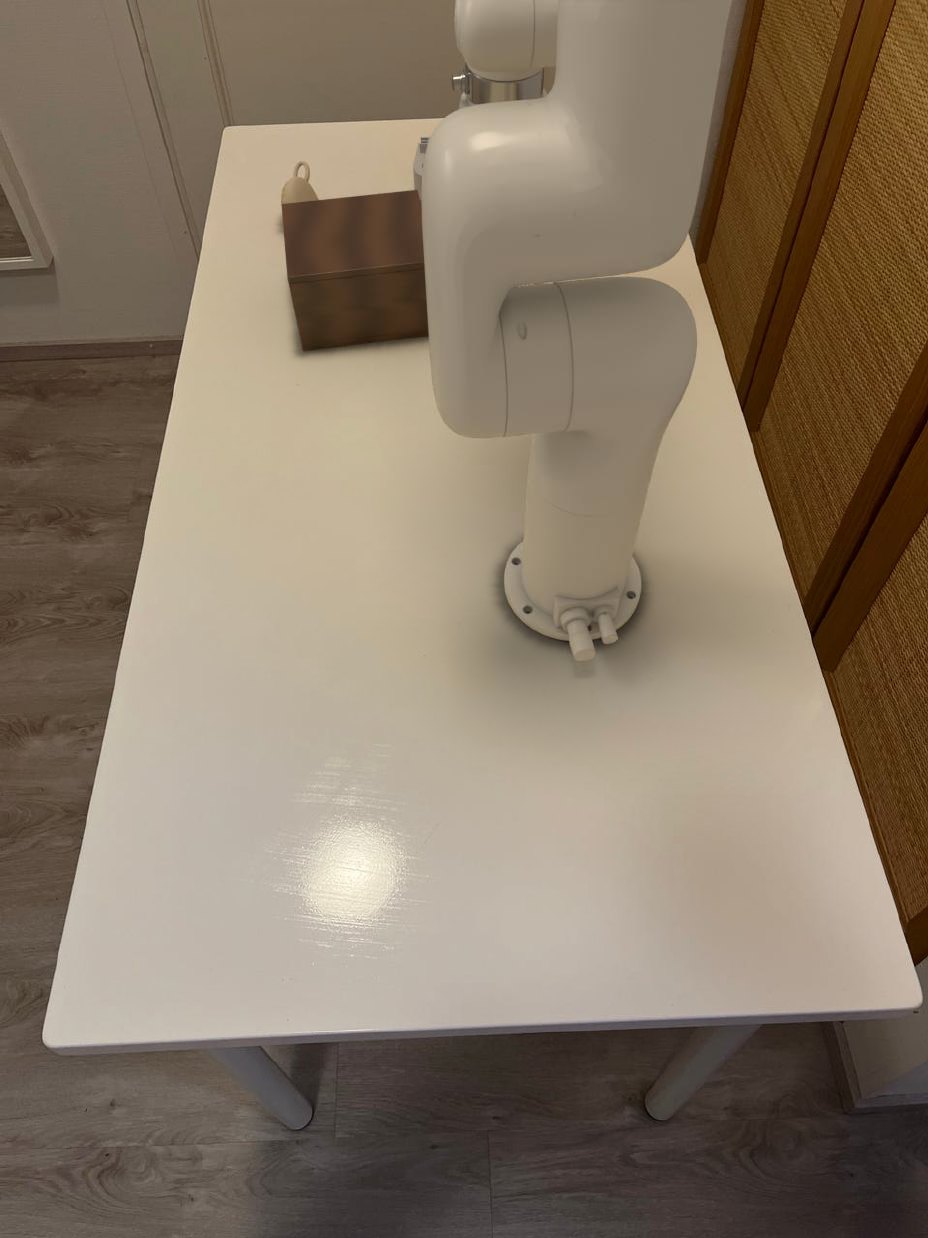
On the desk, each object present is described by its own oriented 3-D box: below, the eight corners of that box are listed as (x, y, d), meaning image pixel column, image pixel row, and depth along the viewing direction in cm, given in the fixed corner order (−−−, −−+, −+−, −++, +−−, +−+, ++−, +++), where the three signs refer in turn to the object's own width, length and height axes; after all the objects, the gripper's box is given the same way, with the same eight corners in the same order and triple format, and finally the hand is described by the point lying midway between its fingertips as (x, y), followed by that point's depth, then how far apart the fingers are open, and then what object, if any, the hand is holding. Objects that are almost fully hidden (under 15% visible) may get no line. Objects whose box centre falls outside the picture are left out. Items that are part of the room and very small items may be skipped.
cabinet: (422, 263, 108) (417, 189, 100) (437, 334, 101) (434, 260, 93) (296, 277, 107) (281, 203, 99) (302, 350, 100) (287, 277, 92)
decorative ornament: (277, 234, 112) (269, 194, 107) (300, 197, 116) (293, 158, 112) (307, 238, 111) (300, 198, 107) (329, 201, 116) (322, 161, 111)
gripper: (434, 109, 83) (441, 278, 98) (588, 94, 84) (571, 263, 99) (424, 71, 87) (432, 238, 102) (571, 57, 88) (557, 225, 103)
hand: (501, 250), depth 101 cm, fingers closed
